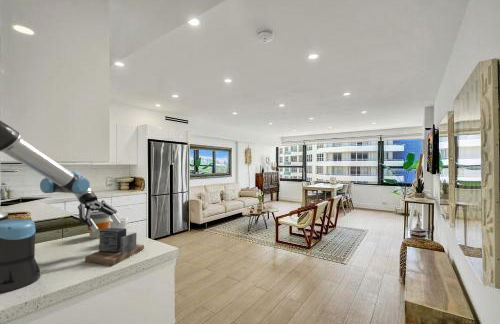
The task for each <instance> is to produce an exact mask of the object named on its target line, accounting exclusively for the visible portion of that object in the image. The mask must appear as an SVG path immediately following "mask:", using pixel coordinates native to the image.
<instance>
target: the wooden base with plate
mask: <svg viewBox="0 0 500 324" xmlns="http://www.w3.org/2000/svg"><path fill="white" fill-rule="evenodd" d="M143 249H144V250H145V244H137V232H133V233H130V234H126V236H124V237H122V238H121V252H119V253H107V252H99V250H98V251H95V252H93V253H91V254H88V255H85V256H84V262H85V263H89V264H99V265H101V264H102V265H107V266H115V265H118V264H119V263H121V262H124V261H125V260H128V259H129V258H131V257H133V256H134V254H135V255H137V254H139V253H140V251H141V252H142V250H143ZM144 250H143V251H144ZM138 252H139V253H138ZM136 253H137V254H136ZM132 255H133V256H132ZM130 256H131V257H130Z"/></svg>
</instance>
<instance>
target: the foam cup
mask: <svg viewBox="0 0 500 324" xmlns="http://www.w3.org/2000/svg"><path fill="white" fill-rule="evenodd" d="M118 219H119V221H120V222H121V223H120V224H119V225H118V226H116V224H115V223H114V222H113V220H112V219H111V218H110V219H109V220H110V222H109V228H123V229H126V231H127V229H128V222H129V218H128V217H118Z"/></svg>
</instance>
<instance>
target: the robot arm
mask: <svg viewBox="0 0 500 324" xmlns="http://www.w3.org/2000/svg"><path fill="white" fill-rule="evenodd" d="M0 152H1V153H3V154H5V155H7V156H8V157H10V158H12V159H14V160H15V161H17V162H19V163H20V164H22V165H24V166H25V167H27V168H29V169H30V170H32V171H33V172H35V173H37V174H39V175H40V176H42V177H44V178H42V180H41V181H40V183H39V188H40V191H41V192H42V193H43V194H53V193H55V194H56V193H60V194H61V193H64V194H65V193H66V194H68V193H69V194H73V195H74V196H75V198H76V199H77V200H78V202H79V203H80V204H78V206H77V209H78V216H79V219H78V220H79V222H80V223H82V224H86V226H87V225H88V226H87V228H88V227H90V228H91V229H92V231H93V232H94V233H95V232H96V231H97V230H98V227H97V226H96V224H95V223H94V222H93V220H92V219H89V218H90V214H91V212H95V211H102V212H104V213H106V214H108V215H110V220H111V219H112V220H113V222H114V223H115V224H116V226H118V225H119V224H120V223H121V222H120V221H119V219H118V218H119V217H118V215H117V213H118V210H117V209H116V208H114V207H112V206H111V205H109V204H108V203H107V202H106V200H104V199H102V200H101V201H99V200H98V197H97V195H96V194H95V192H94V191H93V189H92V188H91V184H90V183H91V182H90V180H89V179H88V178H86V177H84V176H83V175H82V174H81V173H80V172H78V171H75V170H74V171H70V170H69V169H67V168H66V167H65V166H63V165H62V164H60V163H58V162H57V161H56V160H54V159H53V158H51V157H50V156H49V155H47V154H46V153H45V152H43V151H41V150H40V149H38V148H37V147H35V146H34V145H32V144H31V143H30V142H28V141H26V139H24V138H22V137H21V133H20V132H19V131H17V130H16V129H14V128H13V127H12V126H10V125H8V124H7V123H6V122H4V121H3V120H0ZM85 209H86V210H85ZM36 229H37V228H36V224H35V222H34V220H32V219H29V218H10V217H9V214H8V212H5V211H3V210H2V209H1V207H0V293H4V292H3V291H6V292H10V291H14V290H17V289H21V288H23V287H26V286H29V285H31V284H33V283H35V282H37V281H39V279H40V278H41V269H40V267H39V265H38V263H37V260H36V259H35V257H36V255H35V253H36V252H35V251H36Z"/></svg>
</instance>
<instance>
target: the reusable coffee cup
mask: <svg viewBox="0 0 500 324" xmlns="http://www.w3.org/2000/svg"><path fill="white" fill-rule="evenodd" d="M110 218H111V216H110V215H108V214H106V213H104V212H102V211H98V210H97V211H91V214H90V218H89V219H92V220H93V222H94V223H95V224H96V226H97V227H98V230H97V231H96V232H95V233H94V232H93V231H92V229H91V228H90V227H88V225H87V224H86V226H87V230H88V233H89V238H90V239H100V230H103V229H107V228H110V220H111V219H110Z"/></svg>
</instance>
